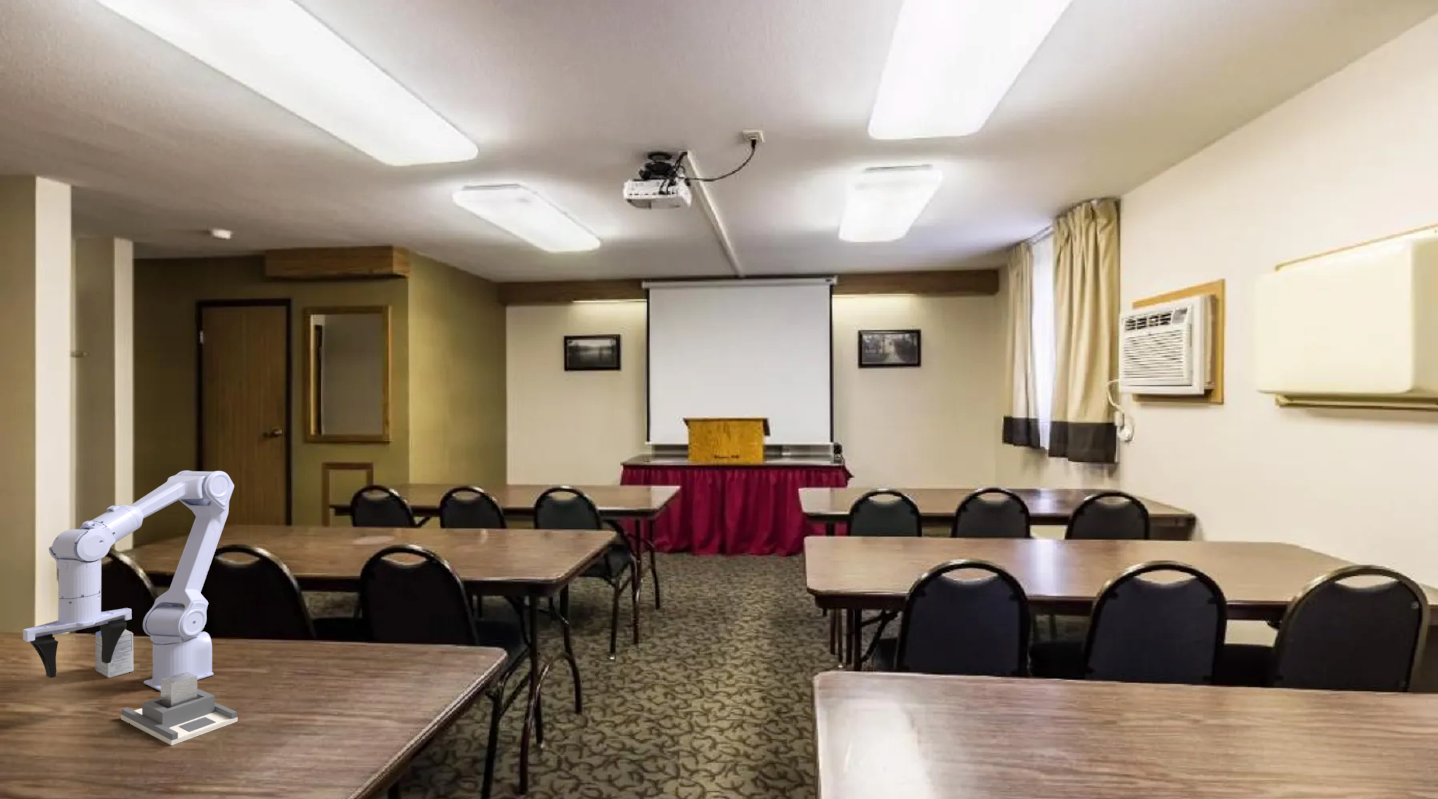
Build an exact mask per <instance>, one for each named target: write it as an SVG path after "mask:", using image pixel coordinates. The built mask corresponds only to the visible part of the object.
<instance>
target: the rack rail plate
mask: <svg viewBox="0 0 1438 799" xmlns="http://www.w3.org/2000/svg"><path fill="white" fill-rule="evenodd" d="M141 707H142V708H141ZM141 707H140V708H138V709H135V710H133V709H131V708H129V707H123V708H121V714H120V719H121V720H122V721H124V722H125V723H127V724H129V723H130V725H132V726H133V727H135V728H137V729H139V730H141V731H142V732H144V733H146V734H149V735H150V736H153V737H154V738H156V739H158V740H160V741H161V742H164V743H166V744H168V745H170V746H174V745H177V744H179V743H182V742H185V741H188V740H190V739H193V738H195V737H198V736H201V735H205V734H207V733H210V732H213V731H214V730H218V729H221V728H223V727H226V726H228V725H232V724H235V723H236V722H239V721H238V720H239V719H238V711H236V710H234V709H231V708H229V707H227V706H225V705H222V704H220V703H217V702H216V696H215V695H214V694H212V693H209V692H208V691H204V690H203V689H200V688H198V687H197V699H196V700H193V701H190V702H187V703H184V704H181V705H177V706H174V707H171V708H168V709H167V708H165V707H163V706H161V696H160V697H158V698H154V699H150V700H148V701H145V702H142V704H141Z"/></svg>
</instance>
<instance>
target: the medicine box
mask: <svg viewBox="0 0 1438 799" xmlns="http://www.w3.org/2000/svg"><path fill="white" fill-rule="evenodd" d="M94 642H95V643H94V644H95V646H94V647H95V648H94V649H95V652H94V654H95V656H94V657H95V658H94V662H95V664H94V665H95V666H94V667H95V672H97V673H99V674H101V675H103V676H105V677H107V678H108V679H110V678H114V677H119V676H122V675H125V674H129V672H130V673H133V672H134V633H133V632H132V631H129V630H127V628H126V629H125V630H124V632H123V633H122V635H121V637H120V638H119V640H118V642H117V644H116V647H115V649H114V652H113V656H112V659H111V663H107V664H106V663H104V662H102V657H101V654H102V636H101V630H99V631H96V632H95V639H94Z"/></svg>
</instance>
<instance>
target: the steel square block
mask: <svg viewBox="0 0 1438 799" xmlns="http://www.w3.org/2000/svg"><path fill="white" fill-rule="evenodd" d="M197 688H198V680H197V675H194V674H191V673H189V672H184V673H181V674H177V675H174V676H170V677H167V678H164V679H161V691H160V697H161V706H163V707H165V708H167V709H168V708H171V707H174V706H177V705H181V704H184V703H187V702H190V701H193V700H196V699H197Z"/></svg>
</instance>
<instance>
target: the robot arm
mask: <svg viewBox="0 0 1438 799" xmlns="http://www.w3.org/2000/svg"><path fill="white" fill-rule="evenodd" d="M234 488H235V484H234V483H233V480H232V479H231V477H230V476H229V474H228V473H227V472H225V471H222V470H215V471H202V470H201V471H196V470H195V471H194V470H181V471H179V472H178V473H176V474H175V475H172V476H169V477H168V478H167V481H166V482H164V483H163V484H162V485H160V486H158V487H156V488H155V489H153V490H152V491H150V492H149V493H147V494H146V495H144V496H143V497H141V498H140V499H138V500H136V501H134V502H133V503H132V504H130V505H127V504H119V505H110V506H109V507H107V508H106V511H105V512H103V513H102V514H100V515H98V516H97V517H95V518H93V519H92V520H86V521H84V522H83V523H82V524H81V526H80V527H78V528H73V529H72V528H71V529H67V530H64V531H62V532H61V533H59V534H58V535H57V536H56V537H55V538H54V540H53V542H52V545H51V546H49V547H48V552H49V554H50V557H52V558H53V559H54V560H55V562H56V569H58V570H57V571H58V574H57V575H58V579H57V580H58V585H57V586H58V587H57V588H58V589H57V590H58V593H57V596H58V597H57V598H58V599H57V602H58V603H57V604H58V606H57V610H58V612H57V614H58V615H57V616H58V617H57V618H58V620H54V621H50V622H47V623H43V624H40V625H36V626H33V627H28V628H24V629H22V640H23V641H24V642H26V643H30V644H31V646H32V647H33V648H34V649H35V651H36V652H37V654H38V656H39V658H40V660H41V662H42V663H43V666H44V670H45V675H46V677H47V678H50V679H52V678H56V677H57V659H56V658H57V651H58V644H59V641H58V640H56V637H55V636H56V635H57V636H58V635H62V634H65V633H71V632H74V631H79V630H83V629H87V628H88V629H89V628H93V627H97V626H99V627H100V628H99V629H100V631H101V636H102V654H101V657H102V662H104V663H106V664H107V663H111V659H112V656H113V652H114V649H115V647H116V644H117V642H118V640H119V638H120V637H121V635H122V633H123V632H124V630H125V629H126V630H127V626H128V625H127V622H126V621H129V620H132V618H133V617H132V613H133V612H132V608H128V607H124V608H119V609H112V610H106V611H102V559H103V558H105V557H106V556H107V555H108V553H109V551H110V549H111V547H112V546H113V545H115V544H116V543H117V542H119V541H121V540H122V539H124V538H125V537H127V536H128V535H130V534H132V533H134V532H135V531H136V530H138V529H140V528H141V527H142V524H143V521H144V519H145V518H147V517H149V516H151V515H153V514H155V513H156V512H158V511H160V510H162V509H164V508H166V507H168V506H170V505H171V504H173V503H175V502H178V501H179V502H181V503H182V504H183V505H184V506H186V507H187V508H188V509H189V510H190V511H192V513H193V514H194V516H195V518H194V521H193V524H192V527H191V530H190V532H189V535H188V536H187V537H188V538H187V540H186V543H185V546H184V548H183V551H182V554H181V556H180V560H179V562H178V565H177V567H176V570H175V572H174V575H173V578H172V581H171V584H170V587H169V589H168V590H167V591H165V592H164V593H162V594H160V595H159V596H158V597H156V598H155V600H154V603H153V604H152V607H151V608H150V609H149V611H148V612H146V614H145V616H144V618H143V620H142V621H143V622H142V629H143V631H144V633H145V634H146V635H148V636H149V637H150V638H149V640H150V641H151V642H152V678H150V679H146V680H144V681H143V684H144V685H147V686H148V687H151V688H153V689H154V690H155V689H156V690H158V691H160V692H161V679H164V678H167V677H170V676H174V675H177V674H181V673H184V672H189V673H191V674H194V675H197V681H198V680H201V679H205V678H208V677H211V676H212V677H213V675H214V672H213V643H212V638H211V635H210V634H209V633H208V632H206V631H203V630H204V628H205V625H206V624H207V621H208V620H207V619H208V618H207V610H208V605H209V602H208V600H207V599H206V598H205V596H204V595H203V594H202V593H201V592H202V590H203V587H204V584H205V581H206V579H207V575H208V572H209V570H210V566H211V564H212V561H213V558H214V555H215V554H216V553H215V552H216V551H217V550H216V549H217V547H218V543H219V541H220V539H221V536H222V532H223V530H224V527H225V524H226V521H227V518H228V516H229V512H230V511H229V508H230V499H231V498H232V494H233V492H234ZM181 605H182V606H181Z"/></svg>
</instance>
